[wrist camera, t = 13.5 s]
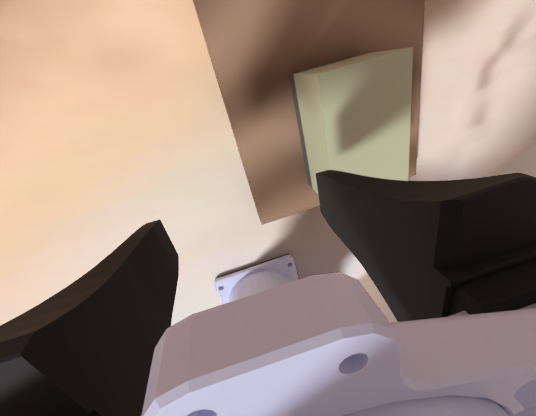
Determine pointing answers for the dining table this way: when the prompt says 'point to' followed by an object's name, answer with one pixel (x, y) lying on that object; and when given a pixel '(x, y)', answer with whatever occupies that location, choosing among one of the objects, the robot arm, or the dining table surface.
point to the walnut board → (290, 61)
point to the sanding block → (356, 115)
